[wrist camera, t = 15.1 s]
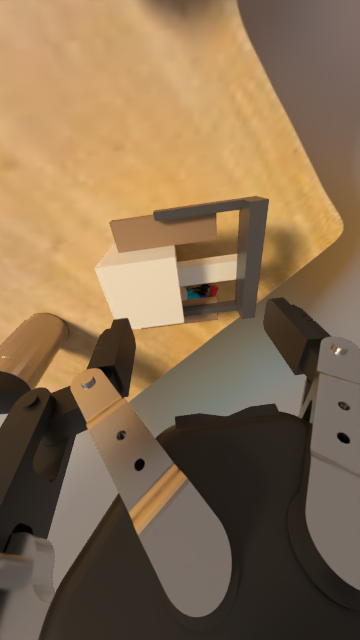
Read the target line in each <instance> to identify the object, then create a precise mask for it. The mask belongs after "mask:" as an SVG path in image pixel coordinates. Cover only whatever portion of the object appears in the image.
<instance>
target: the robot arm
mask: <svg viewBox="0 0 360 640" xmlns="http://www.w3.org/2000/svg"><path fill="white" fill-rule="evenodd" d="M263 322H264V323H263V324H264V329H265V331H266V333H267V334H268V336H269V337H270V339H271V340H272V342H273V343H274V345H275V346H276V348H277V349H278V351H279V352H280V354H281V355H282V357H283V358H284V360H285V361H286V363H287V364H288V365H289V367H290V368H291V370H292V371H293V373H294V374H295V375H299V374H305V375H306V376H307V378H306V381H305V385H304V390H303V396H302V401H301V406H300V411H299V415H298V417H297V416H294V415H292V414H288V413H284V412H279V411H278V409H277V407H276V405H275V404H267V405H260V406H252V407H249V408H246V409H244V410H241V411H239V412H237V413H234V414H232V415H230V416H226V417H225V416H216V415H208V414H200V413H199V414H191V415H184V416H177V417H175V423H176V424H175V425H173V426H171V427H169V428H167V429H166V430H164V431H163V432H162V433H160V434H159V435H158V436H157V437H156V438H154V436H153V435H152V433H151V432H150V431H149V430H148V428H147V427H146V426H145V424H144V423H143V422H142V420H141V419H140V418H139V416H138V415H137V414H136V412H135V411H134V410H133V409H132V407H131V406H130V404H129V403H128V402H127V400H126V399H125V398H124V397H128V395H129V388H130V382H131V375H132V369H133V362H134V356H135V349H136V343H135V338H134V334H133V331H132V328H131V325H130V322H129V319H128V318H121V319H114V320H113V323H112V326H111V329H106V330H105V331H104V332H103V333H102V334H101V335H100V337H99V339H98V342H97V344H96V347H95V350H94V352H93V355H92V357H91V360H90V362H89V365H88V367H87V370H85V371H83V372H81V373H80V374H78V375H77V376H76V377H75V378H74V380H73V381H72V383H71V386H68V387H66V388H63V389H61V390H58V391H56V392H53V393H51V392H50V391H49V390H48V389H47V388H36V386H37V384H38V383H39V381H40V379H41V378H42V376H43V375H44V373H45V371H46V370H47V368H48V367H49V365H50V363H51V362H52V360H53V359H54V357H55V355H56V354H57V352H58V351H59V349H60V347H61V346H62V344H63V343H64V341H65V339H66V338H67V336H68V328H67V326H66V324H65V323H64V322H63V321H62V320H61V319H59V318H58V317H56V316H54V315H51V314H47V313H38V314H34V315H33V316H31V317H30V318H29V319H28V320H26V321H24V322H23V323H22V324H21V325H20V326H19V327H18V328H17V329H16V330H15V331H14V332H13V333H12V334H11V335H10V336H9V337H8V338H7V339H6V340H5V341H4V342H3V343H2V344H1V345H0V414H8V413H9V414H8V416H7V417H6V419H5V421H4V422H3V424H2V426H1V428H0V640H360V349H359V348H358V347H357V346H356V345H355V344H354V343H352V342H351V341H349V340H346V339H343V338H339V337H331V336H330V335H329V334H328V333H327V332H326V331H325V330H324V329H323V328H322V327H321V326H320V325H319V324H318V323H316V322H315V321H313V319H312V318H311V317H310V316H308V314H307V313H306V312H305V311H303V309H301V308H299V307H297V306H295V305H290V304H289V303H288V302H287V301H286V300H285V299H284V298H283V297H281V298H273V299H268V300H267V303H266V309H265V315H264V321H263ZM35 388H36V389H35ZM87 429H88V430H89V432H90V434H91V436H92V439H93V441H94V443H95V445H96V447H97V449H98V451H99V453H100V455H101V457H102V459H103V461H104V463H105V465H106V467H107V469H108V471H109V473H110V475H111V477H112V479H113V481H114V483H115V485H116V487H117V490H118V492H119V493H118V495H117V496H116V498H115V500H114V501H113V503H112V504H111V506H110V507H109V509H108V510H107V512H106V514H105V515H104V517H103V518H102V520H101V521H100V523H99V524H98V526H97V527H96V529H95V530H94V532H93V534H92V535H91V536H90V538H89V540H88V541H87V543H86V544H85V546H84V547H83V549H82V550H81V552H80V553H79V555H78V557H77V558H76V560H75V561H74V563H73V564H72V566H71V567H70V569H69V571H68V572H67V573H66V575H65V577H64V578H63V580H62V582H61V583H60V585H59V587H58V589H57V591H56V593H55V591H54V587H53V580H52V578H53V568H54V561H55V560H54V559H55V554H54V548H53V545H52V544H51V542H50V541H49V540H47V537H48V534H49V530H50V526H51V523H52V519H53V515H54V511H55V509H56V505H57V501H58V498H59V494H60V490H61V487H62V483H63V479H64V476H65V473H66V469H67V465H68V462H69V458H70V454H71V451H72V447H73V444H74V440H75V437H76V434H78V433H81V432H83V431H85V430H87Z"/></svg>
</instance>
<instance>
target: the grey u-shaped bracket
mask: <svg viewBox="0 0 360 640" xmlns="http://www.w3.org/2000/svg"><path fill="white" fill-rule="evenodd" d="M268 203H269V199H266V198H262V197H258V196H253V197H246V198H239V199H232V200H225V201H218V202H211V203H204V204H197V205H190V206H183V207H176V208H169V209H162V210H155V211H154V212H153V214H154V220H155V221H162V220H169V219H176V218H183V217H190V216H197V215H204V214H211V213H218V212H225V211H232V210H239V209H240V211H239V231H238V251H237V271H236V291H235V301H227V302H219V303H211V304H203V305H195V306H188V307H183V316H184V317H187V316H195V315H203V314H211V313H218V312H226V311H234V310H237V311H238V313H239V315H240V317H241V319H244V318H252V317H255V308H256V301H257V293H258V284H259V276H260V268H261V260H262V252H263V244H264V236H265V228H266V219H267V211H268Z"/></svg>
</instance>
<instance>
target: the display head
mask: <svg viewBox="0 0 360 640" xmlns="http://www.w3.org/2000/svg"><path fill="white" fill-rule="evenodd" d="M110 227H111V230H112V233H113V236H114V240H115V243H114V244H113V245H112V247H111V248H110V249H109V250H108V252H107V253H106V254H105V255H104V257H103V258H102V259H101V261H100V262H99V263H98V264H97V266H96V267H95V268H94V269H95V271H96V274H97V276H98V279H99V281H100V284H101V287H102V289H103V292H104V294H105V297H106V299H107V302H108V304H109V307H110V310H111V312H112V315H113V317H114V319H121V318H128V319H129V322H130V325H131V328H132V329H139V328H141V329H147V328H155V327H163V326H171V325H179V324H187V323H195V322H202V321H210V320H218V313H211V314H203V315H195V316H187V317H184V316H183V307H188V306H195V305H203V304H211V303H218V301H217V298H216V296H214V297H207V298H199V299H191V300H184V301H182V297H181V288H180V287H182V286H189V285H197V284H204V283H212V282H219V281H227V280H234V279H236V271H237V254H231V255H224V256H217V257H209V258H202V259H195V260H188V261H180V262H177V256H176V249H175V245H180V244H188V243H195V242H202V241H209V240H216V239H217V226H216V213H211V214H204V215H197V216H190V217H183V218H176V219H169V220H162V221H155V220H154V214H153V215H147V216H140V217H133V218H126V219H119V220H112V221H111V222H110Z"/></svg>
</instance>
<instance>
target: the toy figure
mask: <svg viewBox="0 0 360 640" xmlns="http://www.w3.org/2000/svg"><path fill="white" fill-rule="evenodd" d="M210 287H211V297H214V296H215V295H216V292H217V290H218V287H215V286H210ZM180 288H181V297H182V301H184V300H191V299H199V298H207V295H206V293H207V292H208V290H207V289H209V285H208V284H202V285H201V287H196V288H190V289H189V290H188V291H187V290H186V288H185V287H184V286H182V287H180ZM198 288H199V289H200V291H199V292H198V293H194V292H193V290H194V289H198Z"/></svg>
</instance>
